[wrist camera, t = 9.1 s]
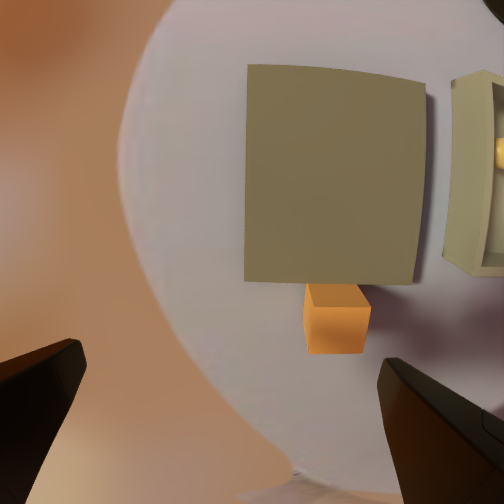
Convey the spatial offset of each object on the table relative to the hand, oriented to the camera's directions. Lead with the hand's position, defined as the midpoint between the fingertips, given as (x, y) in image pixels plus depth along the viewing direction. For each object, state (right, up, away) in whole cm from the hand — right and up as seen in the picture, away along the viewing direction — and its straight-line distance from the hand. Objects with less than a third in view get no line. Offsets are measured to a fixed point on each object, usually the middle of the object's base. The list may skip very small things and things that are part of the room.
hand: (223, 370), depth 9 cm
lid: (+6, +6, +11) cm, 14 cm away
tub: (+19, +9, +9) cm, 22 cm away
